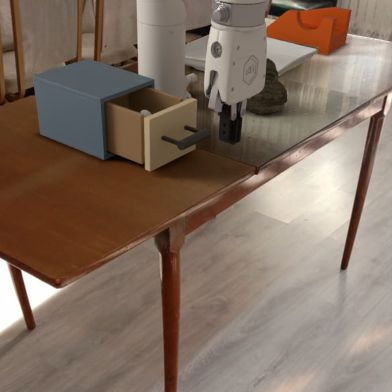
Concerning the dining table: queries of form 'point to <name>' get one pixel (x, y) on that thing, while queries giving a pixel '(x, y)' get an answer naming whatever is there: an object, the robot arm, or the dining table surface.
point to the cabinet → (82, 102)
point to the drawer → (152, 127)
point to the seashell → (269, 93)
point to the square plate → (276, 51)
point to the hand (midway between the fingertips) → (229, 140)
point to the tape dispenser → (313, 28)
